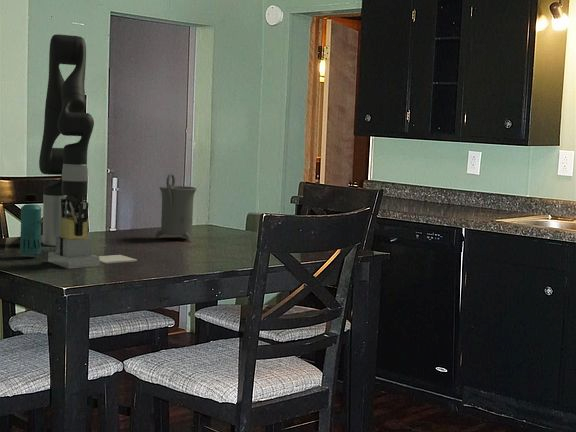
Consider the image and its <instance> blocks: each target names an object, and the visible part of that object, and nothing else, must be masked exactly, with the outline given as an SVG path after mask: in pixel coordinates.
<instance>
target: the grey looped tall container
mask: <svg viewBox="0 0 576 432" xmlns="http://www.w3.org/2000/svg"><path fill="white" fill-rule="evenodd" d="M170 179H172V181H171V183H170ZM175 181H176V178H175V175H174V174H173V173H172V172H171V173H169V174H168V175H167V177H166V181H165V182H166V185H162V186H159V190H160V193H161V220H160V221H161V224H160V226H161V227H160V230H158V231H157V232H156V234H155V236H153V239H154V240H156V239H158V238H159V237H160V236H163V235H165V236H166V235H167V236H183V238H185V239H186V240H187V242H189V243H190V242H192V241H191V236H190V235H193V219H194V218H193V216H194V215H193V214H194V212H193V211H194V197H195V193H196V191H197V188H196V187H193V186H186V185H185V186H184V185H176V182H175Z"/></svg>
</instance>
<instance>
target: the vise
mask: <svg viewBox="0 0 576 432" xmlns="http://www.w3.org/2000/svg"><path fill="white" fill-rule="evenodd" d="M99 256H100V255H96V254H93V239H92V238H90V237H88V239H72V240H69V239H65V238H62V237H56V246H55V251H48V253H47V262H48V263H51V264H54V265H57V266H60V267H63V268H65V269H80V268H81V269H82V268H93V267H94V268H95V267H100V262H99Z"/></svg>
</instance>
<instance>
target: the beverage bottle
mask: <svg viewBox="0 0 576 432" xmlns="http://www.w3.org/2000/svg"><path fill="white" fill-rule="evenodd" d="M23 200H24V201H25V202H38V201H39V197H38V194H36V193H25V194H24V198H23ZM42 225H43V219H42V208H41V207H40V205H38V204H30V203H29V204H24V205H22V207H20V233H19V234H20V237H19V238H20V240H19V242H20V243H19V252H20V254H23V255H38V254H41V252H42Z"/></svg>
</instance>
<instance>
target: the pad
mask: <svg viewBox="0 0 576 432" xmlns="http://www.w3.org/2000/svg"><path fill="white" fill-rule="evenodd" d="M98 256H99V263H102V264H118V263H119V264H120V263H133V262H134V263H135V262H138V259H136V258H134V257H129V256H126V255H123V254H115V255H98Z"/></svg>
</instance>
